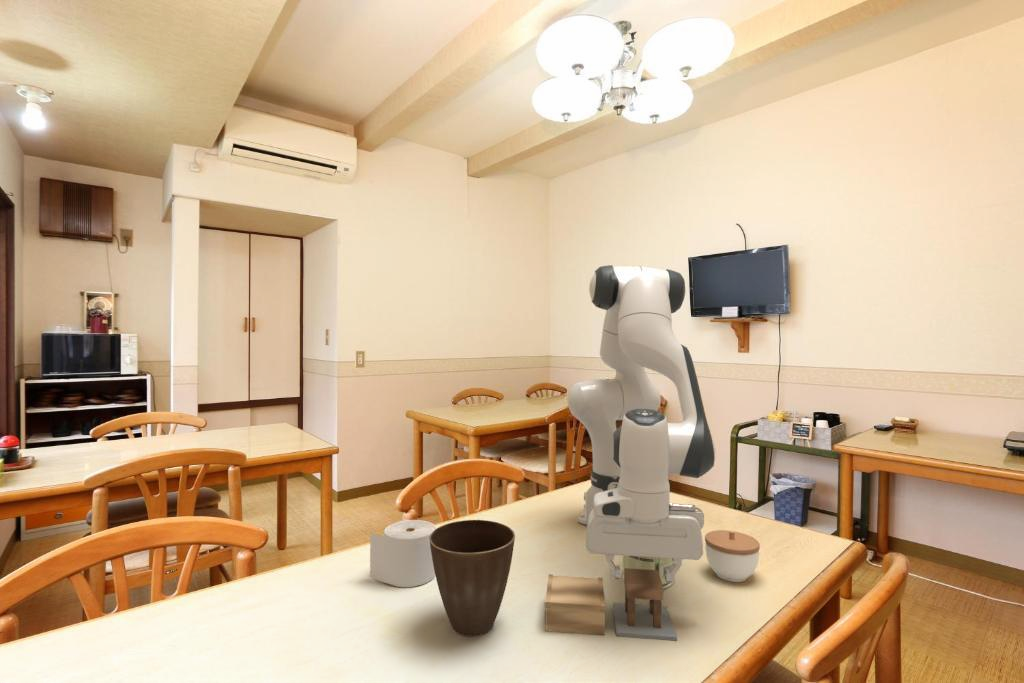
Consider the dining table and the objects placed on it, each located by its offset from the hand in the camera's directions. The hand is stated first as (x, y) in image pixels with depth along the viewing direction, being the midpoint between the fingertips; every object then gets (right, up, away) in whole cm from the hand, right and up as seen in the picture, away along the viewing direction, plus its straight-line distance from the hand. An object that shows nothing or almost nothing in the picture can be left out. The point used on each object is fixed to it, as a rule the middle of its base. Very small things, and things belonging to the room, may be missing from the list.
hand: (642, 579), depth 94 cm
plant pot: (-30, -8, -1) cm, 31 cm away
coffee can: (+5, -8, +16) cm, 19 cm away
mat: (0, -8, 0) cm, 8 cm away
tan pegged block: (0, -7, 0) cm, 7 cm away
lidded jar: (+23, -8, +18) cm, 31 cm away
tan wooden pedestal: (-12, -8, +1) cm, 14 cm away
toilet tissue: (-45, -7, +17) cm, 49 cm away
